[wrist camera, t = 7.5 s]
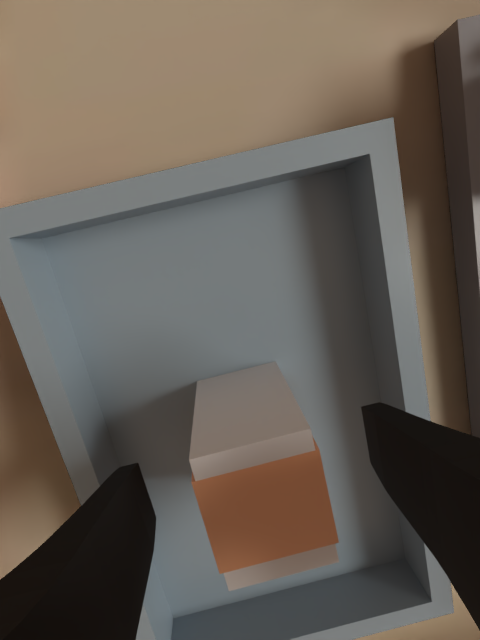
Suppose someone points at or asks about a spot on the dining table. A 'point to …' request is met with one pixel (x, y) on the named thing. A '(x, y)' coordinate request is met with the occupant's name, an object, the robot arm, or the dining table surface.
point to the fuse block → (464, 181)
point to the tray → (234, 360)
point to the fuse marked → (259, 478)
